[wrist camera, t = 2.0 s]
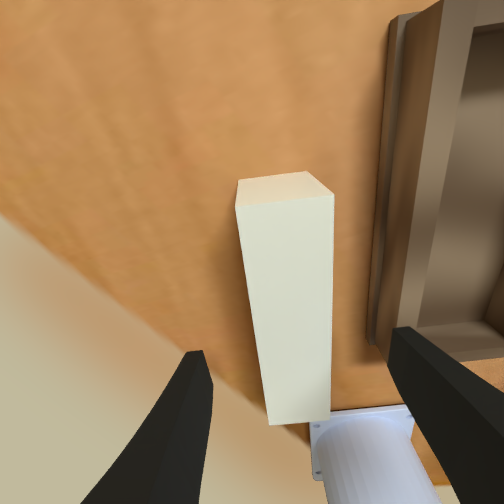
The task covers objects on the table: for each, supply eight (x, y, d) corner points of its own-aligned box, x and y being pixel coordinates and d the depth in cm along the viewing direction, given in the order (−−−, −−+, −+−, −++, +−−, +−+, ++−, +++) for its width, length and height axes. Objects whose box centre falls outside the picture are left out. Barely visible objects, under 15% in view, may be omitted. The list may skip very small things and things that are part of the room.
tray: (493, 323, 17) (533, 356, 14) (365, 337, 17) (384, 372, 15) (616, -17, 9) (737, -62, 7) (390, 20, 10) (435, -10, 7)
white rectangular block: (311, 352, 18) (329, 419, 14) (264, 356, 18) (269, 425, 14) (306, 170, 12) (334, 194, 8) (238, 178, 13) (235, 206, 8)
